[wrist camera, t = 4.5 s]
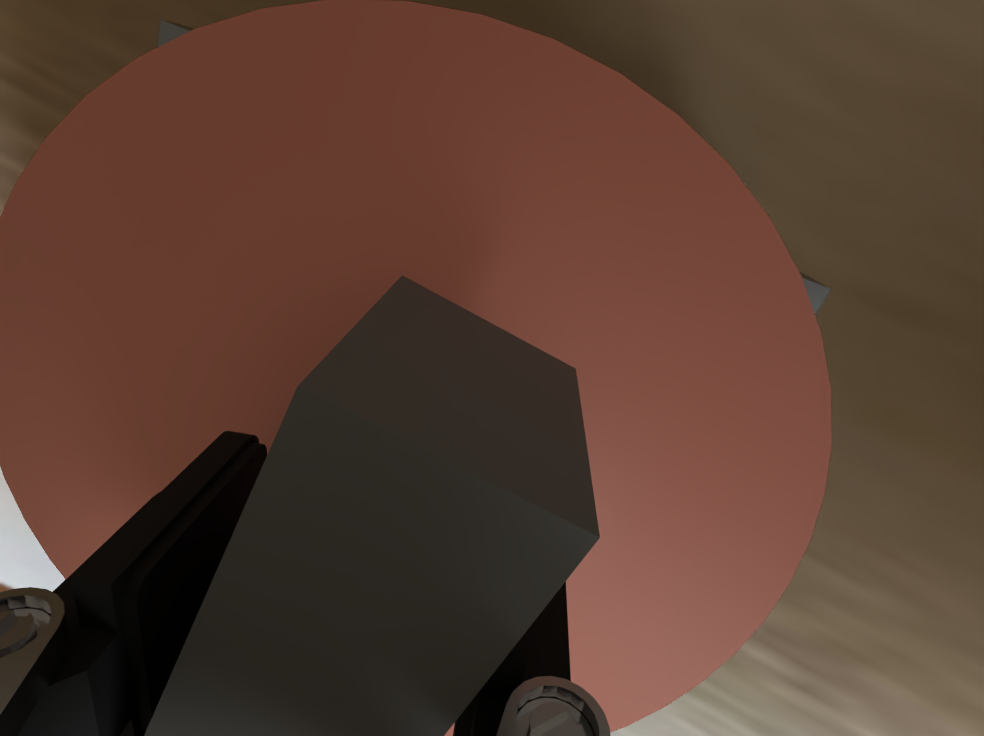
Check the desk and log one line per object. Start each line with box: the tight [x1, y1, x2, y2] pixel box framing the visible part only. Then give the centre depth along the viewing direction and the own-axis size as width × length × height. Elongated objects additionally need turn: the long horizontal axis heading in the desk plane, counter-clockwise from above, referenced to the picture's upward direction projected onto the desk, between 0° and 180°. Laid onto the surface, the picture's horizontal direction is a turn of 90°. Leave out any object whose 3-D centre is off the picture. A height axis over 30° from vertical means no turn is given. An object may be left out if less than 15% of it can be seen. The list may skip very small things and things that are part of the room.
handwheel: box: [0, 0, 832, 736], centre depth 10 cm, size 18×18×7 cm
